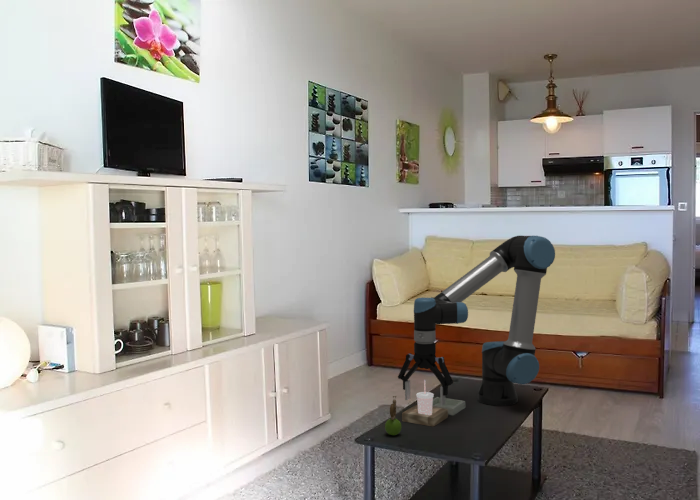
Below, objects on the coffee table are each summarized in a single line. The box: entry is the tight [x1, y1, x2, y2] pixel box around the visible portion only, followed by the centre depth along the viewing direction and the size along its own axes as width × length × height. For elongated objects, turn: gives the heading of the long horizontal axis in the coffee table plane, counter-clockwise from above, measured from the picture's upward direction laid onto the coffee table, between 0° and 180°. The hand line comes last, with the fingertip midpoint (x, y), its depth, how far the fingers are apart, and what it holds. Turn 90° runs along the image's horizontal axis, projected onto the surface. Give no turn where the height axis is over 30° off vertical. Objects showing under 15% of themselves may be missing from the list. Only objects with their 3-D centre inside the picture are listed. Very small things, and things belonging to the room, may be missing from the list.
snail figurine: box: [384, 395, 402, 436], centre depth 209 cm, size 5×6×12 cm
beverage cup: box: [415, 379, 435, 415], centre depth 225 cm, size 6×6×14 cm
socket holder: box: [401, 403, 449, 427], centre depth 225 cm, size 12×12×3 cm
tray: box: [432, 396, 466, 416], centre depth 237 cm, size 12×12×2 cm
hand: (425, 401), depth 225 cm, fingers open, 13 cm apart
